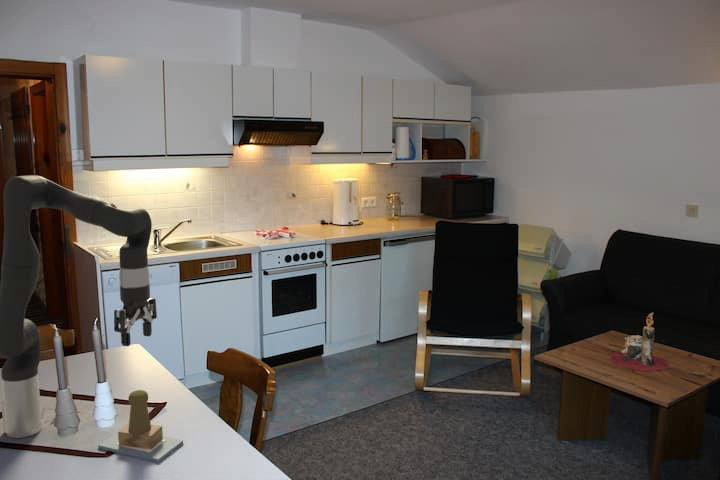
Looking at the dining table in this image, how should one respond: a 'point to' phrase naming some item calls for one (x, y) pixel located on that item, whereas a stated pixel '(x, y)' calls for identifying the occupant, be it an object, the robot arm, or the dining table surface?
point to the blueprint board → (155, 454)
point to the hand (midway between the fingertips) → (137, 340)
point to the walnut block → (141, 437)
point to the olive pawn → (139, 413)
